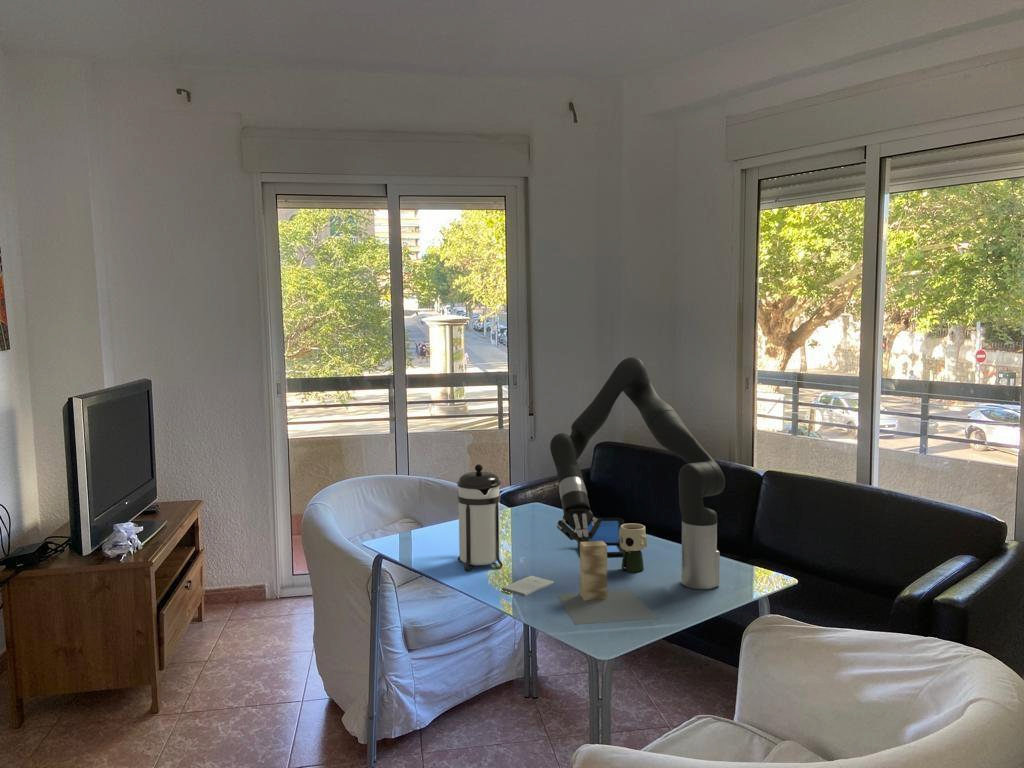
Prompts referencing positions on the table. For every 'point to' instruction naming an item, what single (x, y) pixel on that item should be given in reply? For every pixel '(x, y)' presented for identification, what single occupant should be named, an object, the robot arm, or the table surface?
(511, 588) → the external hard drive
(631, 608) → the slate mat
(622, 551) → the game console
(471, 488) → the coffee press
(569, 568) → the table surface
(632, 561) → the character mug
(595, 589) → the oak block
